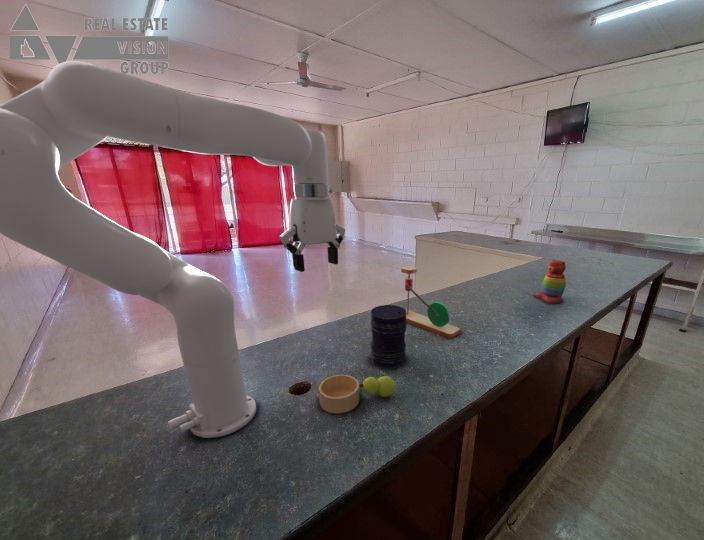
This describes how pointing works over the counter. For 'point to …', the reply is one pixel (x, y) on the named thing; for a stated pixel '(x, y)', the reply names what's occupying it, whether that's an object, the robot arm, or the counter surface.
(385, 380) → the pear plush
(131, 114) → the robot arm
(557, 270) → the stacking bear
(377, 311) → the storage jar
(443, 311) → the crank mechanism
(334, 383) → the bowl
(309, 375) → the counter surface
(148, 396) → the counter surface
